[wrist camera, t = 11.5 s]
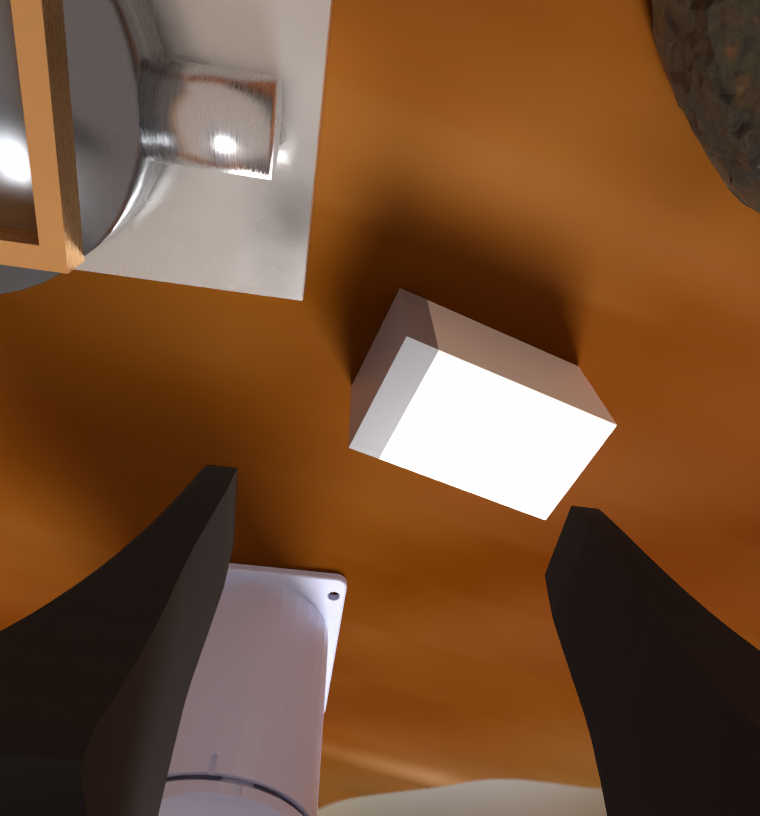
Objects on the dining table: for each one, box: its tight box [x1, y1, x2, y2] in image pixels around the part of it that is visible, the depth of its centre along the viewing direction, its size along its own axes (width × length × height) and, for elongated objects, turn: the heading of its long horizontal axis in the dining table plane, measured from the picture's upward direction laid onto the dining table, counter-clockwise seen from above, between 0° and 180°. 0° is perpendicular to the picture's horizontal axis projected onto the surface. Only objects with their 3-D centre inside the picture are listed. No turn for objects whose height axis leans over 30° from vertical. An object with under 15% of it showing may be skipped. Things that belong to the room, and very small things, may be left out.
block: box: [349, 288, 617, 520], centre depth 21 cm, size 4×4×7 cm
